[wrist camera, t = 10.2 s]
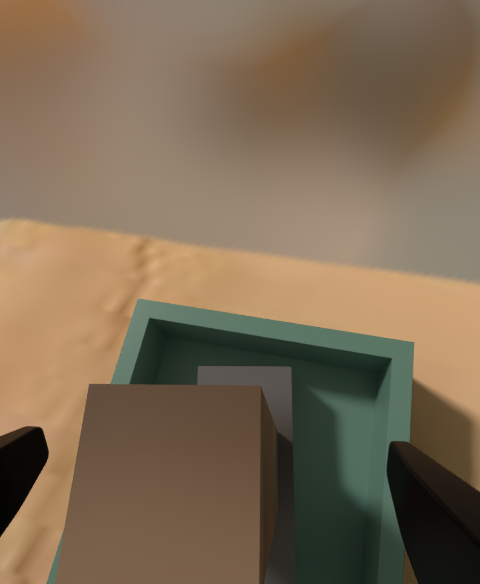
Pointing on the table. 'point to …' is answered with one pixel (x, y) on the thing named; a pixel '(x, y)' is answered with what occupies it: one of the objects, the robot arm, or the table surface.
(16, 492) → the robot arm
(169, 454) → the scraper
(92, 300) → the table surface
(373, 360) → the box
